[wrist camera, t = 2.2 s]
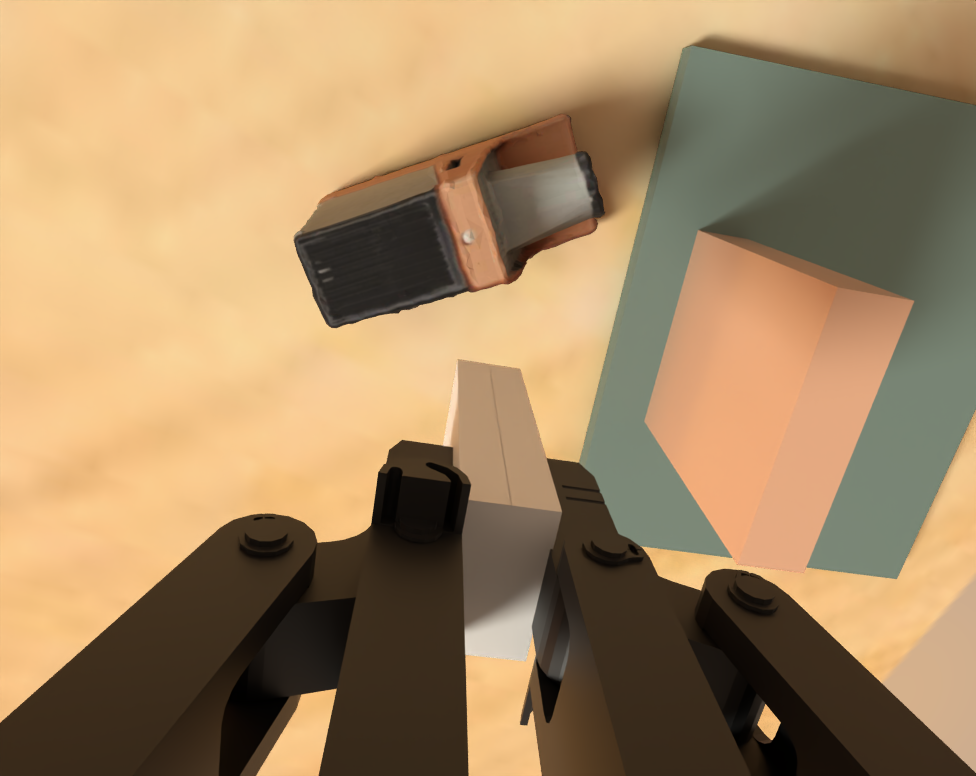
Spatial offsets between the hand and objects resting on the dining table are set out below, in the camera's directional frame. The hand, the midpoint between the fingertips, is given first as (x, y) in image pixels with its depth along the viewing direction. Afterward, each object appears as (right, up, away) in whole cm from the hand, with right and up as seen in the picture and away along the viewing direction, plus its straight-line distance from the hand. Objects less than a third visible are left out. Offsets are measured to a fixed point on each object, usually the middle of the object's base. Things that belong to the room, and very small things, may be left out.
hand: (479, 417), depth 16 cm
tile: (+8, +3, +11) cm, 14 cm away
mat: (+13, +2, +12) cm, 18 cm away
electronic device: (-1, +8, +10) cm, 13 cm away
